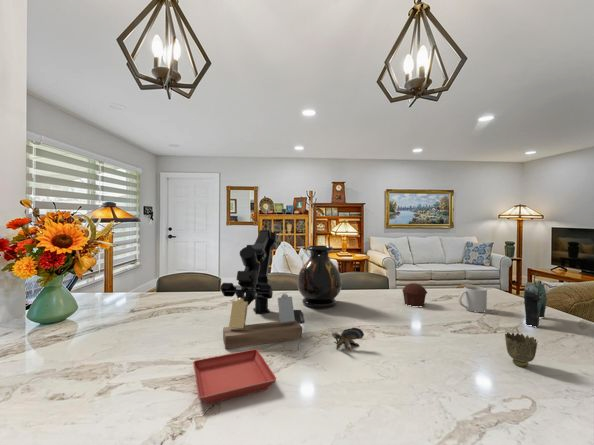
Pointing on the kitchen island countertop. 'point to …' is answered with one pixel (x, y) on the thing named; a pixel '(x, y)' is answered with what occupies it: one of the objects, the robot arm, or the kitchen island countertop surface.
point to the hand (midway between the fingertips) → (241, 311)
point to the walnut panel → (261, 334)
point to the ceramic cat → (534, 302)
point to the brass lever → (238, 314)
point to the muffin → (414, 294)
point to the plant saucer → (232, 375)
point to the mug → (474, 298)
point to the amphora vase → (319, 279)
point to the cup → (521, 348)
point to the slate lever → (286, 309)
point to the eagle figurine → (348, 337)
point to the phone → (298, 316)
